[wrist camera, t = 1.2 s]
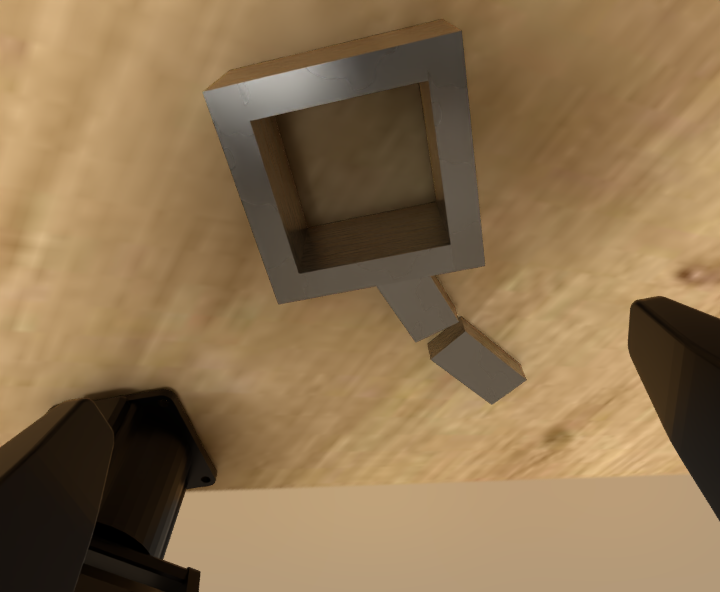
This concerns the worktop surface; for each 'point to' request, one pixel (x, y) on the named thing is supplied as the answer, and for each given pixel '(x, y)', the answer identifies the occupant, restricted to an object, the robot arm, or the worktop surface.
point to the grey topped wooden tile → (420, 306)
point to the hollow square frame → (368, 233)
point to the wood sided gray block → (476, 361)
